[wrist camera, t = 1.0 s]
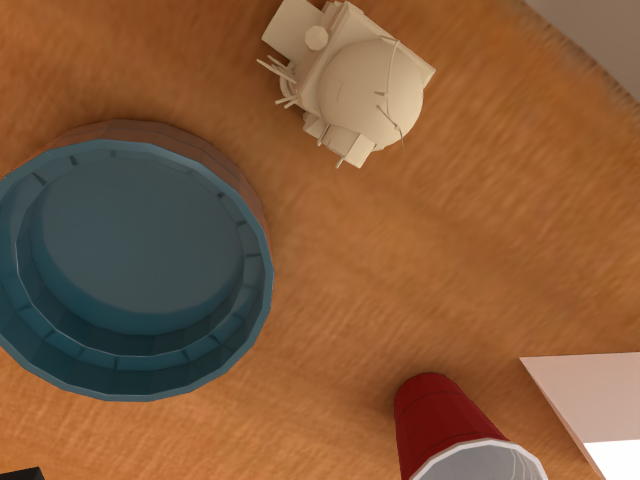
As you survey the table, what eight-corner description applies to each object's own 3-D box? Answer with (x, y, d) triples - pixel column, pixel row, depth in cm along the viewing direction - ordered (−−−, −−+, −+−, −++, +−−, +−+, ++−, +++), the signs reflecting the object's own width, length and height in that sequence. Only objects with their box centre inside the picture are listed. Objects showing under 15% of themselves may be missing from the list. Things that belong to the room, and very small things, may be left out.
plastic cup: (498, 345, 49) (572, 449, 38) (471, 444, 53) (530, 562, 42) (374, 342, 47) (415, 450, 36) (356, 444, 51) (388, 568, 40)
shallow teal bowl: (-9, 104, 36) (-53, 125, 31) (280, 131, 39) (286, 155, 34) (16, 347, 43) (-16, 400, 38) (258, 354, 46) (260, 404, 41)
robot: (229, 89, 38) (223, 148, 24) (293, -27, 35) (326, -34, 22) (360, 166, 41) (420, 257, 27) (426, 65, 39) (527, 108, 25)
